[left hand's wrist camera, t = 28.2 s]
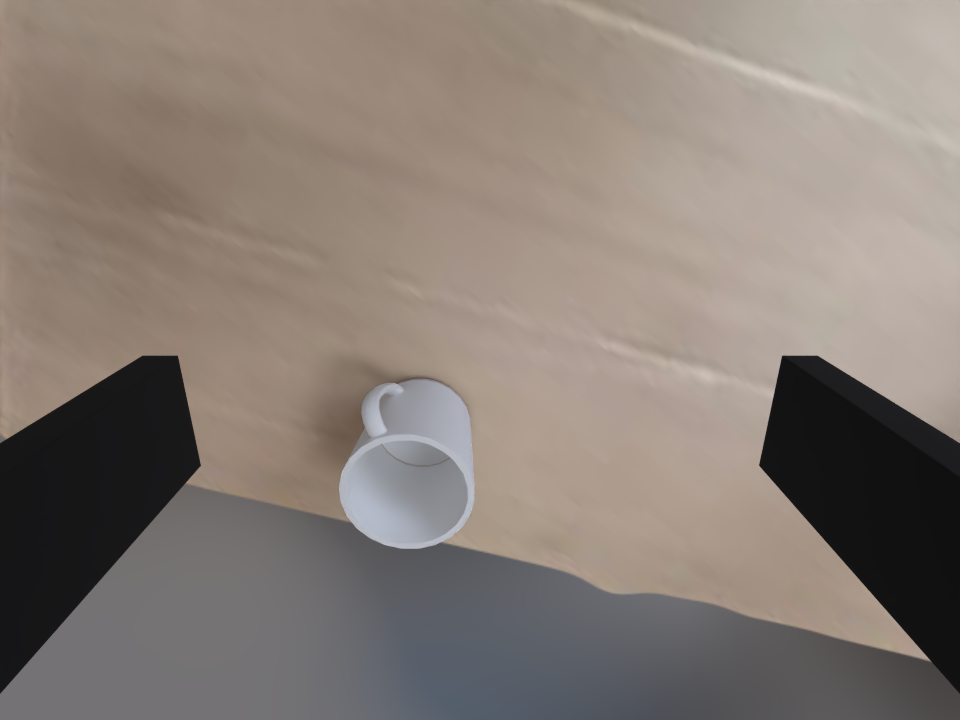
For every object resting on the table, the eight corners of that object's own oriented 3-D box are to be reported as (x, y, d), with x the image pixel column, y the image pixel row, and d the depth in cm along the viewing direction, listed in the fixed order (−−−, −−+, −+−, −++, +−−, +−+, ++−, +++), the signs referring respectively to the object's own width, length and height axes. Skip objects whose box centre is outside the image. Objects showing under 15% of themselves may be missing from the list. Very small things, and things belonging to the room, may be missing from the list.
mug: (492, 446, 47) (495, 523, 37) (397, 481, 48) (376, 565, 38) (438, 332, 43) (426, 385, 34) (337, 374, 44) (298, 436, 35)
